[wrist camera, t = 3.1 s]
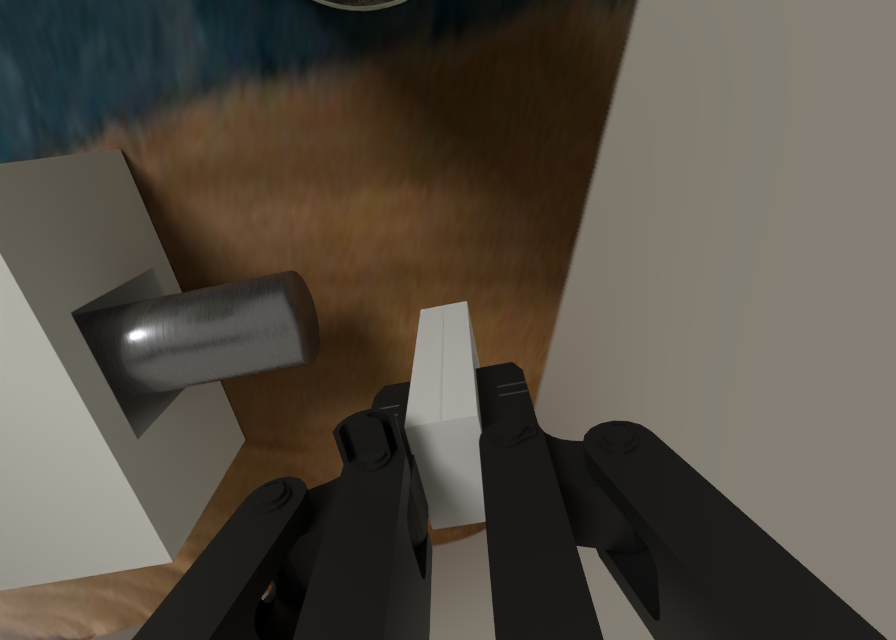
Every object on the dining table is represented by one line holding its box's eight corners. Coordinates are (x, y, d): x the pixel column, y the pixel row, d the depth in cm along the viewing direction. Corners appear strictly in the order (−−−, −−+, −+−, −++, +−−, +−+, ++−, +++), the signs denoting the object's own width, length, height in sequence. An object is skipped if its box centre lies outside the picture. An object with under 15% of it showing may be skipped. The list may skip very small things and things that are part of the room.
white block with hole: (113, 463, 29) (-6, 591, 21) (-44, 185, 23) (-288, 224, 15) (245, 440, 29) (173, 562, 21) (120, 149, 23) (-48, 169, 15)
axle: (3, 401, 25) (-75, 453, 21) (-44, 327, 24) (-137, 369, 20) (326, 339, 24) (304, 383, 20) (299, 257, 22) (270, 287, 19)
